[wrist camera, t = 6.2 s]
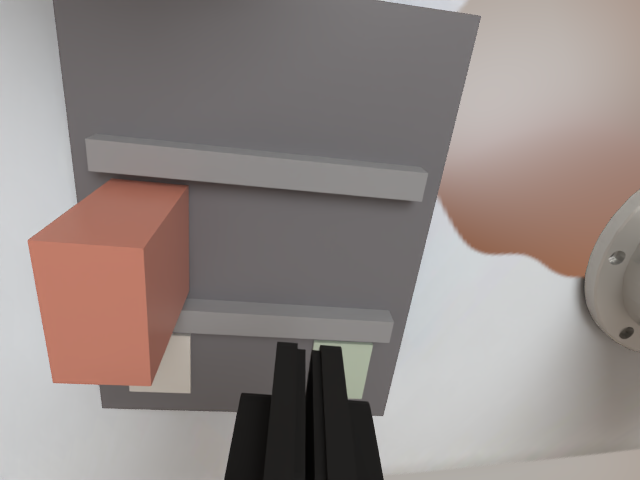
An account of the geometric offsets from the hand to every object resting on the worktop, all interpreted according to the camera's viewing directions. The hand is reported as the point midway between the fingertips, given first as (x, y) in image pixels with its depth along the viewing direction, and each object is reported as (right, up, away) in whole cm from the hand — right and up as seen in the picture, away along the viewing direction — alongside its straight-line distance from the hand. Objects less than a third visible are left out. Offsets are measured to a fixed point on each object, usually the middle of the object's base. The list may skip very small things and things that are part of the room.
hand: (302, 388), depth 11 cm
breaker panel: (-2, +5, +10) cm, 12 cm away
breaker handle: (-7, +4, +7) cm, 10 cm away
